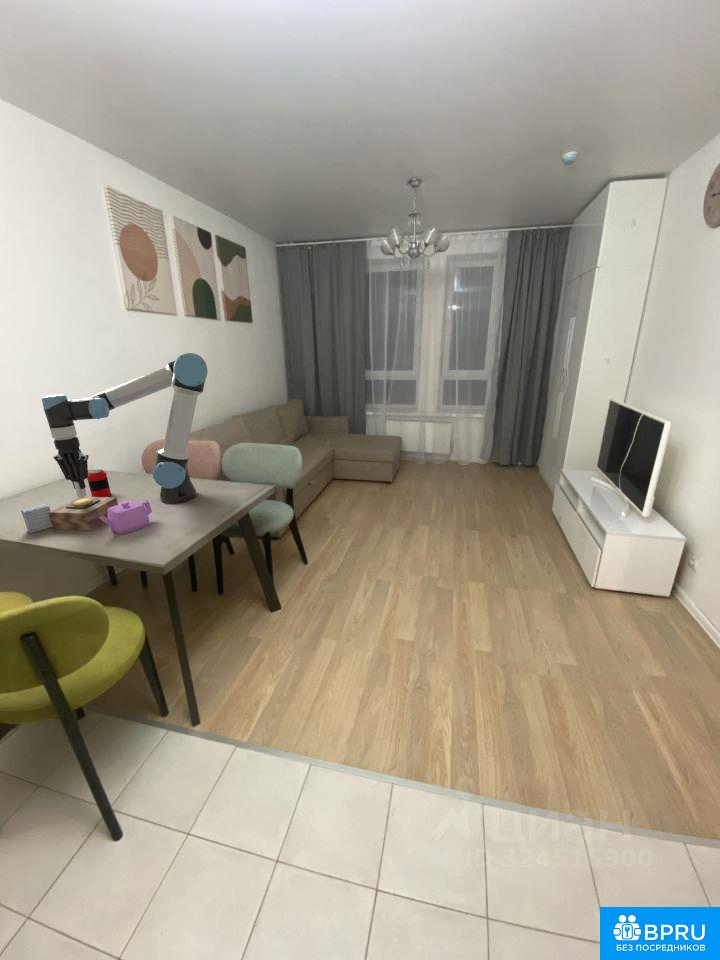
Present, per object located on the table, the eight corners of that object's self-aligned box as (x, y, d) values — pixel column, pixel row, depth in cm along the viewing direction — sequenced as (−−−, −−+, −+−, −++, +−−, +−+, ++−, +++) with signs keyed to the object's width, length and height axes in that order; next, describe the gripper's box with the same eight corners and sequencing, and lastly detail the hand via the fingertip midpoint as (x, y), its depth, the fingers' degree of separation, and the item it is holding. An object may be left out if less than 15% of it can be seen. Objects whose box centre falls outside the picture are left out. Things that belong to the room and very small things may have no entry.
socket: (120, 513, 166) (116, 496, 163) (90, 530, 151) (85, 512, 148) (85, 512, 168) (80, 495, 165) (53, 528, 153) (47, 510, 150)
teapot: (110, 540, 143) (103, 514, 140) (98, 532, 149) (91, 507, 146) (159, 522, 157) (154, 498, 153) (146, 516, 163) (141, 492, 159)
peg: (100, 517, 162) (95, 498, 159) (88, 524, 156) (83, 504, 153) (86, 517, 162) (81, 498, 160) (75, 523, 157) (69, 504, 154)
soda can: (109, 497, 184) (103, 472, 180) (90, 500, 181) (83, 474, 177) (112, 492, 190) (106, 468, 186) (94, 494, 188) (87, 470, 184)
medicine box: (52, 523, 158) (45, 503, 155) (55, 526, 155) (49, 505, 152) (27, 530, 152) (20, 509, 149) (30, 533, 149) (23, 512, 146)
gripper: (88, 435, 151) (104, 493, 159) (58, 435, 152) (75, 492, 160) (73, 439, 144) (90, 500, 152) (41, 440, 145) (59, 499, 153)
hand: (82, 496), depth 156 cm, fingers closed
